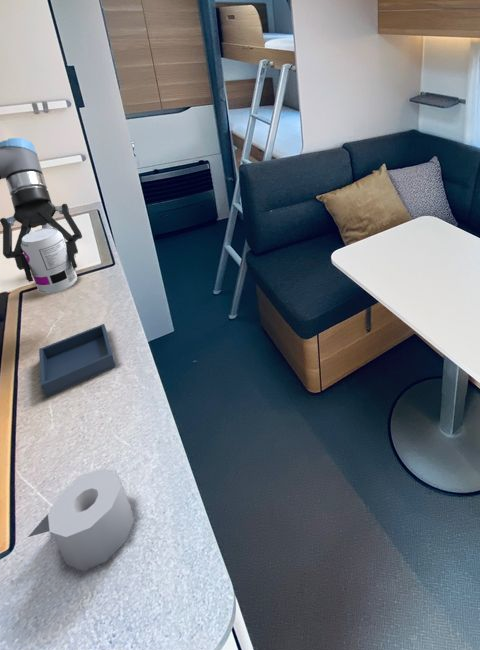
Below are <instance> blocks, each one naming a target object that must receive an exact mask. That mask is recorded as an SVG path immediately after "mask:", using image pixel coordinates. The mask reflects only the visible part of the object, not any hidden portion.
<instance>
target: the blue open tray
mask: <svg viewBox="0 0 480 650" xmlns="http://www.w3.org/2000/svg"><path fill="white" fill-rule="evenodd" d="M38 354H39V378H40V379H39V381H40V387H41V389H42V392H43V394H44V396H45V398H48V397H51V396H53V395H55V394H57V393H59V392H61V391H64V390H66V389H68V388H71V387H72V386H75V385H77V384H79V383H82V382H84V381H87V380H89V379H91V378H93V377H95V376H97V375H99V374H102V373H104V372H106V371H108V370H111V369H113V368H115V367H117V364H116V360H115V357H114V352H113V349H112V346H111V342H110V338H109V333H108V331H107V328H106V325H105V323H102V324H99V325H96V326H95V327H92V328H88V329H87V330H84V331H82V332H79V333H77V334H74V335H71V336H68V337H66V338H64V339H61V340H58V341H55V342H53V343H50V344H48V345H45V346H43V347H41V348H38Z"/></svg>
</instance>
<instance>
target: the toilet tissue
mask: <svg viewBox="0 0 480 650" xmlns="http://www.w3.org/2000/svg"><path fill="white" fill-rule="evenodd" d="M134 522H135V517H134V513H133V510H132V506H131V503H130V501H129V498H128V496H127V492H126V490H125V488H124V486H123V483H122V481H121V478H120V475H119V472H118V471H115V470H111V469H107V468H104V467H101V468H98V469H95V470H92V471H89V472H86V473H83V474H81V475H79V476H78V477H77V478H76V479H75V480H74V481H72V482H71V483H69V484H68V485H67V486H66V487H65V488H64V489H63V490H62V491H60V492H59V494H58V496H57V497H56V499H55V501H54V502H53V504H52V506H51V508H50V509H49V511H48V512H47V514H46V515H45V516H44V518H43V519H42V520H41V521H40V522H39V523H38V524H37V526H36V527H35V528H34V529H33V530H32V532H31V533H29V535H28V536H27V537H28V538H29V537H34V536H37V535H41V534H44V533H48V532H49V534H50V535H51V537H52V539H53V541H54V543H55V544H56V546H57V548H58V550H59V552H60V553H61V556H62V557H63V559H64V561H65V563H66V565H67V566H68V567H72V568H74V569H77V570H80V571H83V572H84V571H85V572H86V571H87V570H89V569H92V568H94V567H97V566H98V565H101V564H103V563H106V562H107V561H108V560H109V559H110V558H111V557H112V556H113V555H114V554H115V553H116V552H117V551H118V550H119V549H120V548H121V547H122V546H123V545H124V544H125V543H126V542H127V539H128V537H129V534H130V532H131V530H132V527H133V525H134Z"/></svg>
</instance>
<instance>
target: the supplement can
mask: <svg viewBox="0 0 480 650" xmlns="http://www.w3.org/2000/svg"><path fill="white" fill-rule="evenodd" d="M64 239H65V238H64V237H63V235H62V233H61V232H59V231H58V230H57V229H56V228H53V227H51V228H43V229H42V228H39V229H35V230H33V231H32V230H31V231H30V232H29V233H28V234H26V235H25V236H23V238H22V242H21V248H22V250H23V254H24V255H25V258H26V260H27V263H28V265H29V268H30V271H31V275H32V278H33V281H34V283H35V285H36V288H37V291H38V292H39V293H41V294H45V295H53V294H57V293H62V292H64V291H66V290H68V289H70V288H71V287H73V285H75V284H76V282H77V281H78V275H77V271H76V272H75V269H76V268H75V269H74V268H73V266H72V263H71V260H70V257H69V253H68V250H67V247H66V243H65V241H66V239H65V240H64ZM76 280H77V281H76ZM75 281H76V282H75ZM74 283H75V284H74Z"/></svg>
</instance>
